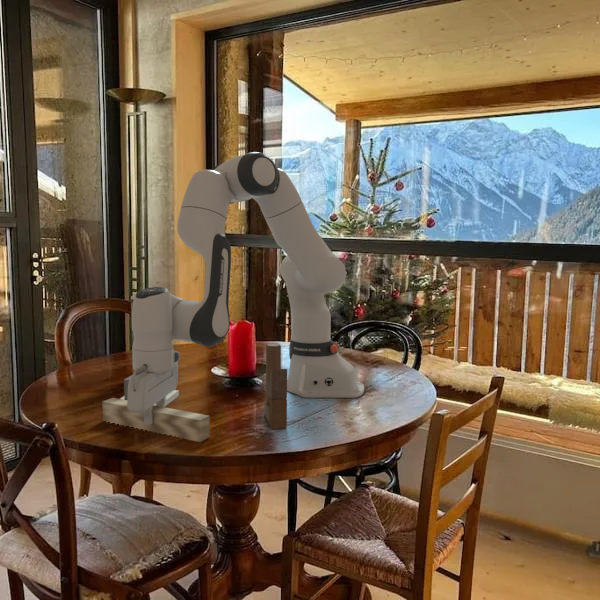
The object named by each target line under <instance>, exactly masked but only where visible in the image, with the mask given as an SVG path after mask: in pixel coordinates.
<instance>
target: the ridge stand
mask: <svg viewBox="0 0 600 600" xmlns="http://www.w3.org/2000/svg"><path fill="white" fill-rule="evenodd" d="M133 375H134V374H133V373H132V375H130V376H128V377H126V378H124V379H123V394H124V395H123V396H122V397H120V398H119V399H123V400H127V395H128V383H129V380H130V378H131V377H132V376H133ZM179 392H180V390H178V389H177V390H176V389H175V390H173V391H172V392H171V393H169V394H168V395H167V396H166V402H165V406H164V407H165V408H166V407H167V406H168V405H169V404H170V403H172V402H173V401H174V400H175V399H176V398H178V397H179V396H180V393H179ZM154 405H155V406H156V404H154Z"/></svg>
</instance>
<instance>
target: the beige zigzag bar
mask: <svg viewBox="0 0 600 600" xmlns="http://www.w3.org/2000/svg"><path fill="white" fill-rule="evenodd" d="M101 403H102V406H101V407H102V422H103V421H106V422H105V423H108V422H110V423H109V424H112V423H115V424H114V425H117V424H119V425H118V426H122V425H124V426H123V427H126V426H129V427H128V428H131V427H134V428H133V429H136V428H138V430H141V429H143V430H142V431H145V430H147V432H150V431H151V433H155V432H156V433H155V434H159V433H161V434H160V435H164V434H167V435H166V436H169V435H172V436H171V437H174V436H176V437H175V438H178V437H179V439H183V438H184V439H183V440H188V441H192V442H198V443H201V442H203V441H205V440H207V439H208V438H210V437H211V436H210V435H211V434H210V433H211V432H210V431H211V430H210V429H211V427H210V425H211V424H210V415H208V414H207V415H206V414H203V413H197V412H191V411H186V410H181V409H175V408H171V407H170V408H169V407H166V406H165V407H160V406H155V405H153V406H152V410H151V411H152V415H154V422H153V423H152V424H151V425H145V424H144V417H143V414H142V413H136V412H130V411H129V410H128V408H127V400H123V399H120V398H116V397H112V398H109V399H106V400H102V402H101Z"/></svg>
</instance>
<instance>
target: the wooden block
mask: <svg viewBox="0 0 600 600" xmlns="http://www.w3.org/2000/svg"><path fill="white" fill-rule="evenodd" d="M287 379H288V368H282V346H281V344H279V343H268V344H266V346H265V401H264V403H263V405H264V411H263V412H264V416H265V419H266V421H267V423H268V425H269V428H271V430H274V431H275V430H286V429H287V428H288V427H287V426H288V399H287V398H288V391H287Z"/></svg>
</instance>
